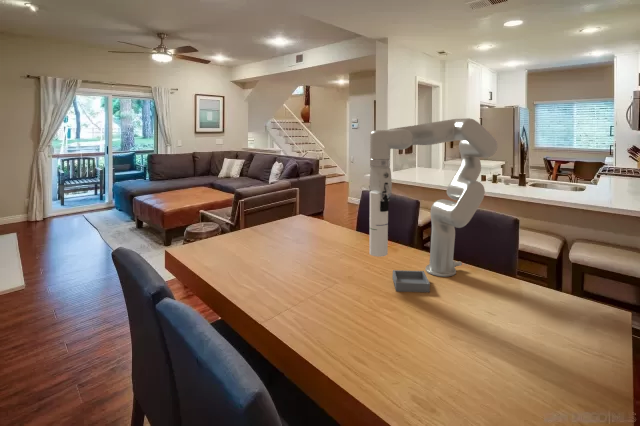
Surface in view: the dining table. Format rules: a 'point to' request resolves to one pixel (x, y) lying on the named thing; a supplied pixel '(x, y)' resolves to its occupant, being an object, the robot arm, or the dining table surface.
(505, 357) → the dining table surface
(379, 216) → the cylindrical container
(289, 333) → the dining table surface
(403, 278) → the tray
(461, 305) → the dining table surface
